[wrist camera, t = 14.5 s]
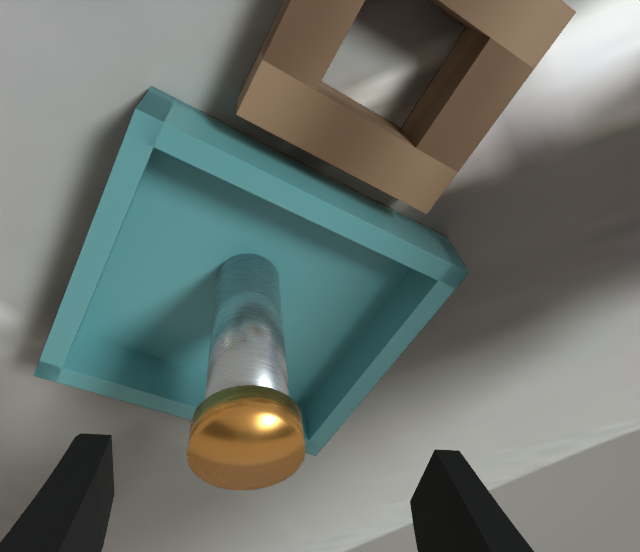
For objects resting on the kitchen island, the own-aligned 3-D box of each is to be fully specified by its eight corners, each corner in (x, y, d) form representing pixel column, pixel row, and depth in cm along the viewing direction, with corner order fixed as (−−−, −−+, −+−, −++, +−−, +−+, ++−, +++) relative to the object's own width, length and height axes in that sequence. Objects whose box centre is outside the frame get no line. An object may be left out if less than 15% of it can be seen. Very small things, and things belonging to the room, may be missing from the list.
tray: (447, 237, 20) (469, 272, 18) (311, 412, 25) (315, 455, 23) (151, 85, 16) (135, 108, 14) (56, 331, 21) (33, 375, 19)
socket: (542, 4, 16) (576, 12, 14) (411, 189, 19) (426, 214, 17) (353, -146, 13) (366, -157, 12) (238, 96, 16) (236, 114, 15)
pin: (291, 249, 19) (313, 416, 13) (282, 312, 21) (297, 489, 14) (209, 243, 19) (188, 414, 12) (206, 308, 20) (186, 490, 14)
